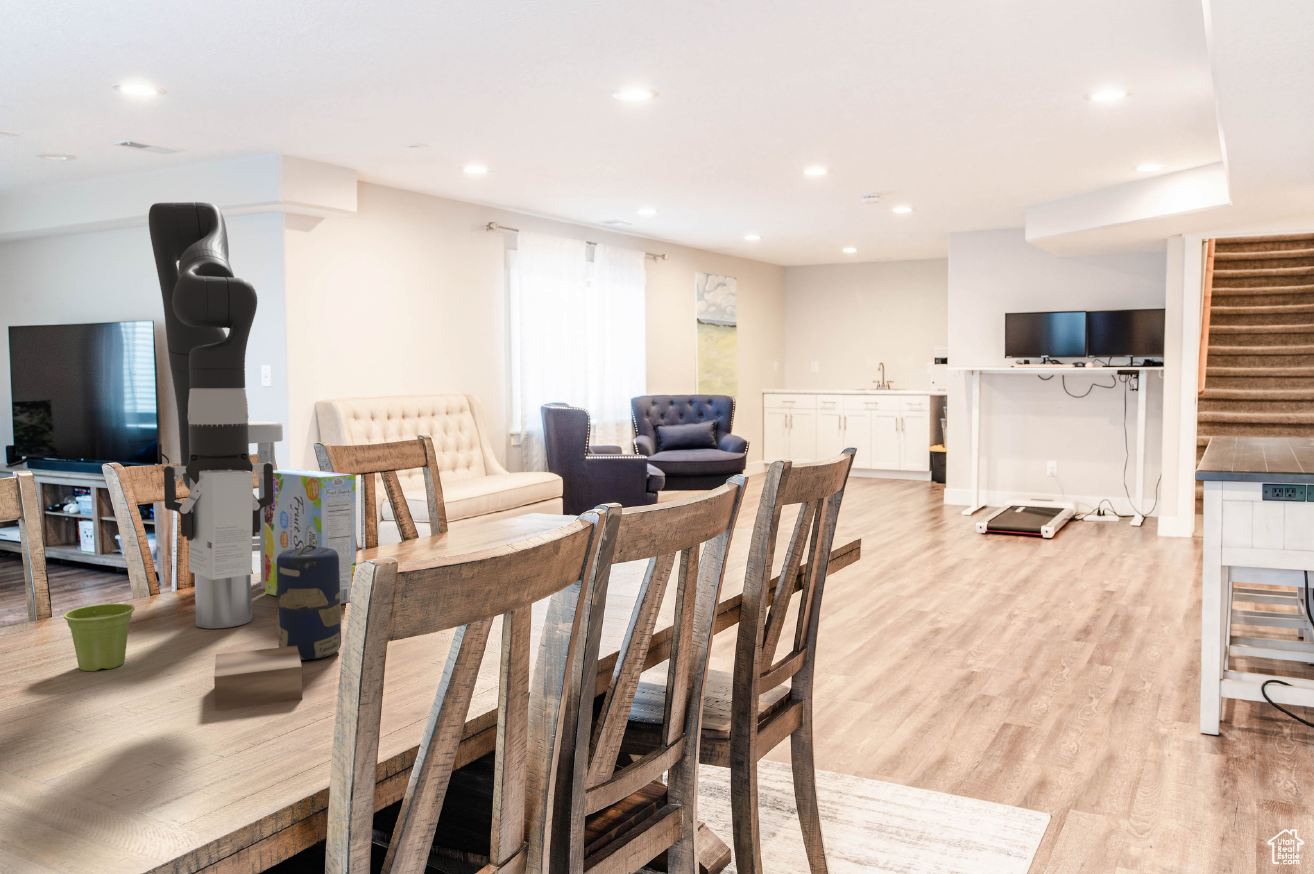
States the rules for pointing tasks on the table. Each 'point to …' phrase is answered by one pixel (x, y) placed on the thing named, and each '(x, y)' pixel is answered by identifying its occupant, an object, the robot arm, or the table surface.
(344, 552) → the snack box
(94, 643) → the plant pot
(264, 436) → the stool
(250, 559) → the skincare box
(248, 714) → the table surface
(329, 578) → the canister
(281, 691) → the walnut block
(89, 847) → the table surface
